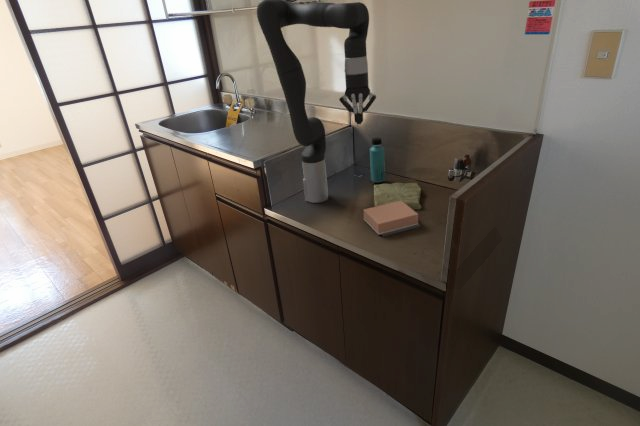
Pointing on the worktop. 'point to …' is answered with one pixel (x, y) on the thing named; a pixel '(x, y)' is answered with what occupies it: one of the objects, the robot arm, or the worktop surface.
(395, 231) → the mat
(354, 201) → the worktop surface
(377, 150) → the beverage bottle
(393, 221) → the terracotta tile
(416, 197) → the decorative tile
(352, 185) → the worktop surface
